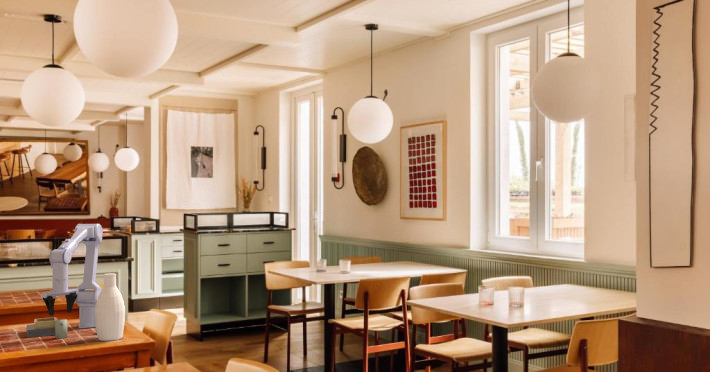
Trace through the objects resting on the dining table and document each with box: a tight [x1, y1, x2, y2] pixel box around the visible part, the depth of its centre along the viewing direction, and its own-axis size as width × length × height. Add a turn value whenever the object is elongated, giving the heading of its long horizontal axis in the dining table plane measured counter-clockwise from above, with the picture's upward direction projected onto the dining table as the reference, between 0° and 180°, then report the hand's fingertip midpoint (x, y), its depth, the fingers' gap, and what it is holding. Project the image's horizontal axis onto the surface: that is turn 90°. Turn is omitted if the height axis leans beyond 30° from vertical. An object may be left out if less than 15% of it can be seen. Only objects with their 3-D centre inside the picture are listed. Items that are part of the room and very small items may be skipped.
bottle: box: [95, 272, 126, 342], centre depth 267 cm, size 11×11×25 cm
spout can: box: [54, 318, 68, 340], centre depth 269 cm, size 4×6×7 cm
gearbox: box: [26, 316, 58, 338], centre depth 278 cm, size 14×12×6 cm
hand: (60, 313), depth 269 cm, fingers open, 7 cm apart
